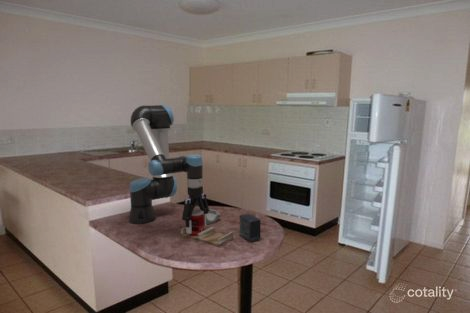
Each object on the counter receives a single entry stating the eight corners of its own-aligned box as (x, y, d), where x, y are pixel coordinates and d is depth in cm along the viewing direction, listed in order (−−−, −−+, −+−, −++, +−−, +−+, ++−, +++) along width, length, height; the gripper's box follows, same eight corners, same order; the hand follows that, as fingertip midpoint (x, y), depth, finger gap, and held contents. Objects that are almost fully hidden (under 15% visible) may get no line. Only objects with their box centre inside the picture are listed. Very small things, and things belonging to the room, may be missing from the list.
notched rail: (181, 236, 165) (180, 229, 164) (195, 229, 174) (195, 222, 173) (219, 247, 152) (219, 239, 151) (233, 239, 161) (232, 232, 160)
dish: (222, 219, 189) (222, 211, 188) (207, 227, 177) (207, 218, 176) (203, 215, 196) (202, 207, 196) (187, 222, 185) (187, 213, 184)
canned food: (202, 229, 170) (202, 208, 169) (205, 235, 163) (205, 213, 161) (187, 231, 168) (187, 210, 167) (190, 236, 161) (189, 215, 159)
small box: (261, 240, 159) (261, 219, 157) (249, 242, 156) (249, 221, 154) (250, 232, 168) (250, 213, 167) (239, 235, 165) (238, 215, 164)
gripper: (184, 192, 150) (186, 238, 154) (215, 182, 169) (216, 223, 172) (172, 190, 155) (174, 235, 158) (204, 180, 173) (205, 221, 177)
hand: (196, 229), depth 165 cm, fingers open, 10 cm apart
